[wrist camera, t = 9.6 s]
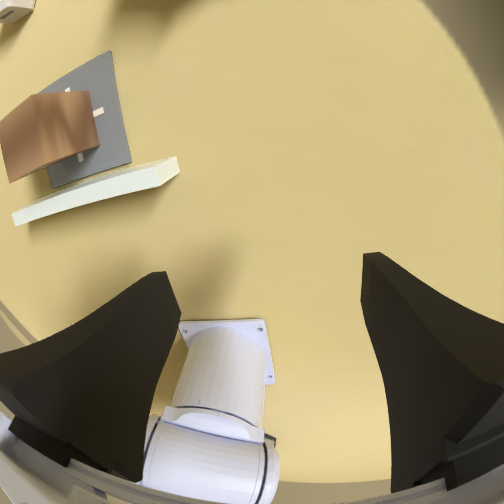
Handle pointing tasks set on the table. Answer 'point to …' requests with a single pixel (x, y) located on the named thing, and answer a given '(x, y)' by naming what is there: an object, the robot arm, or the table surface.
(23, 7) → the usb wall charger
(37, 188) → the table surface
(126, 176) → the frosted wall
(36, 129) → the walnut block
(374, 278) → the robot arm
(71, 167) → the pad
